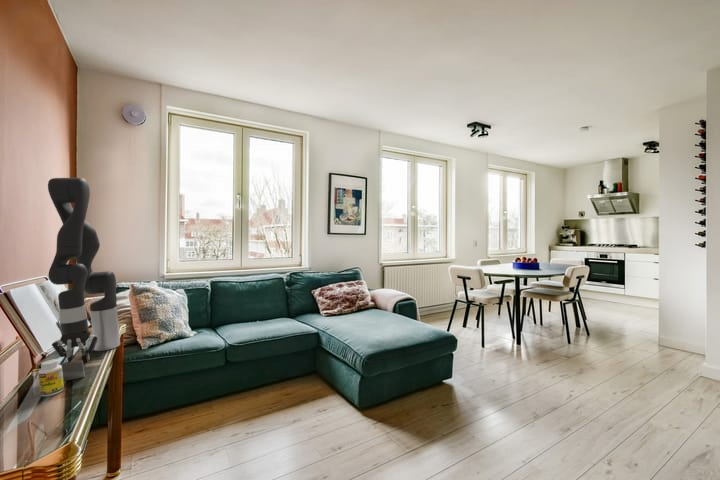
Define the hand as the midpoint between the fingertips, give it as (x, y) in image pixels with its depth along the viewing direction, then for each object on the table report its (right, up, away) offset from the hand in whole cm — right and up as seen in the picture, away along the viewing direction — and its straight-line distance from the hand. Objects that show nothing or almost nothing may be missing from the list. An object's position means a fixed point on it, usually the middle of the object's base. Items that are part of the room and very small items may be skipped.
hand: (78, 365), depth 123 cm
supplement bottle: (+4, -3, -15) cm, 16 cm away
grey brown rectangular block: (0, -1, 0) cm, 1 cm away
